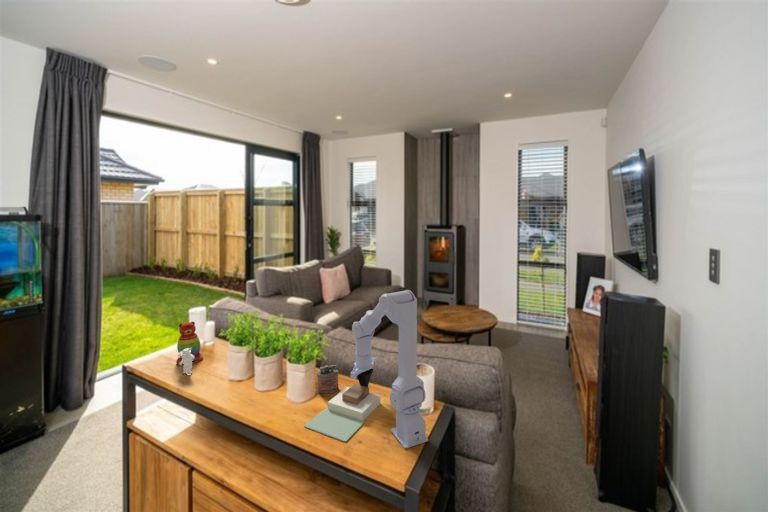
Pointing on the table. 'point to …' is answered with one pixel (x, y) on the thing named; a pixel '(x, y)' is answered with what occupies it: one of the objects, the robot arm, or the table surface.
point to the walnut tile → (355, 394)
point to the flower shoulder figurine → (186, 360)
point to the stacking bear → (189, 341)
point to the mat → (335, 425)
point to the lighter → (327, 379)
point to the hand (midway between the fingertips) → (364, 388)
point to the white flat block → (354, 410)
